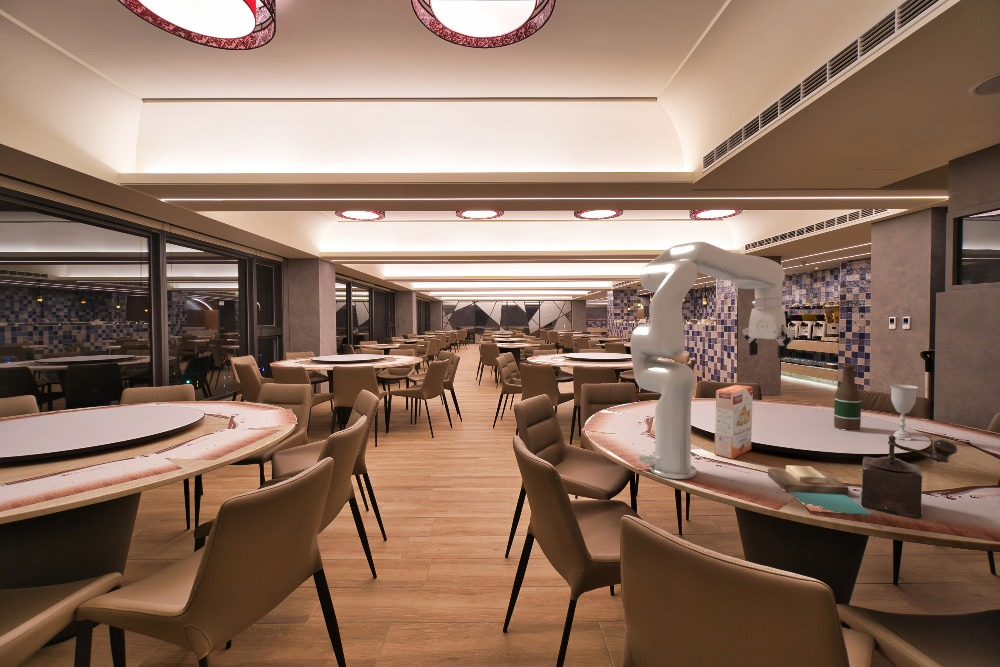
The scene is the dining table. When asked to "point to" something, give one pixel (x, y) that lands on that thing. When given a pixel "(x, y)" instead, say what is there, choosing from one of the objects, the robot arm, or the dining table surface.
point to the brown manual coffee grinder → (898, 479)
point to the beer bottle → (847, 402)
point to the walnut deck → (794, 485)
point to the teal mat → (831, 502)
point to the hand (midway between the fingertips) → (767, 356)
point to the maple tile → (805, 474)
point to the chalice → (903, 404)
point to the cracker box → (733, 421)
